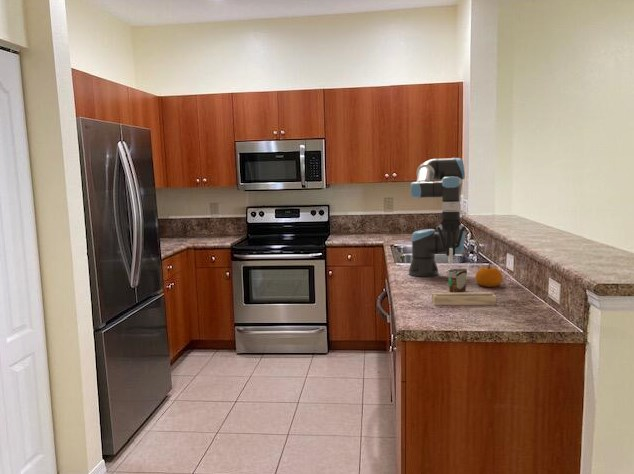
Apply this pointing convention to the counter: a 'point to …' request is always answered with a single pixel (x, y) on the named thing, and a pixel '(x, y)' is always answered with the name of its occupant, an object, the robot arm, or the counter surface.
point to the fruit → (488, 277)
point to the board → (464, 298)
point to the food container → (457, 280)
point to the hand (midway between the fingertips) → (450, 262)
